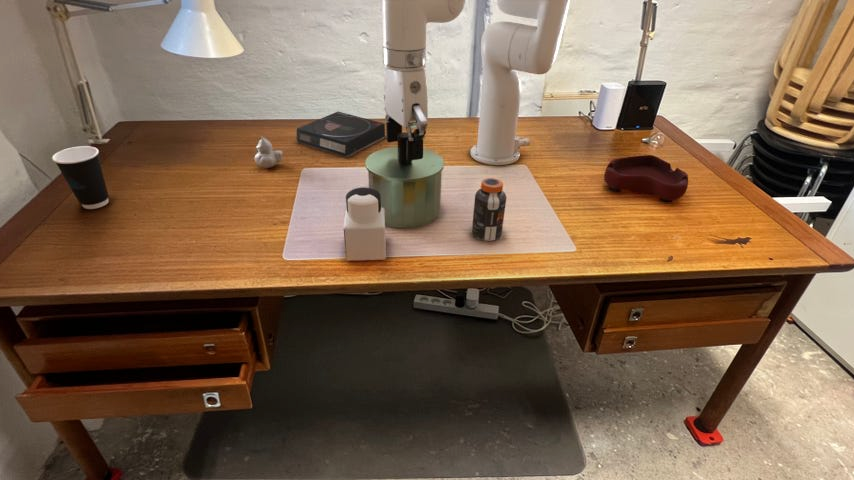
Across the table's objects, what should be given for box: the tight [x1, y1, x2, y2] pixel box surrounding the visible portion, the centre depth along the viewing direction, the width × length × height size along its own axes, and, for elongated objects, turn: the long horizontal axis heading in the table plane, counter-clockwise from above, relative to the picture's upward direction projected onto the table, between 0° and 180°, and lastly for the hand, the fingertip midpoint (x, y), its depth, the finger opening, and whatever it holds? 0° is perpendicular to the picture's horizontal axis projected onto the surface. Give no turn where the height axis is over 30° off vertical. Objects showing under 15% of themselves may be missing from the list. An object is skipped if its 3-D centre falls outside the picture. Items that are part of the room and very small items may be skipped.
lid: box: [364, 131, 445, 182], centre depth 99 cm, size 16×16×7 cm
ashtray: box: [603, 154, 689, 204], centre depth 118 cm, size 18×16×5 cm
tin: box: [367, 170, 443, 230], centre depth 104 cm, size 15×15×10 cm
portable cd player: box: [295, 111, 386, 158], centre depth 136 cm, size 16×17×4 cm
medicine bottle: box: [343, 186, 387, 262], centre depth 91 cm, size 7×7×12 cm
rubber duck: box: [254, 135, 284, 169], centre depth 121 cm, size 5×7×8 cm
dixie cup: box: [51, 145, 110, 210], centre depth 103 cm, size 8×8×11 cm
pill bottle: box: [471, 177, 507, 242], centre depth 97 cm, size 6×6×11 cm
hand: (404, 149), depth 99 cm, fingers open, 9 cm apart
